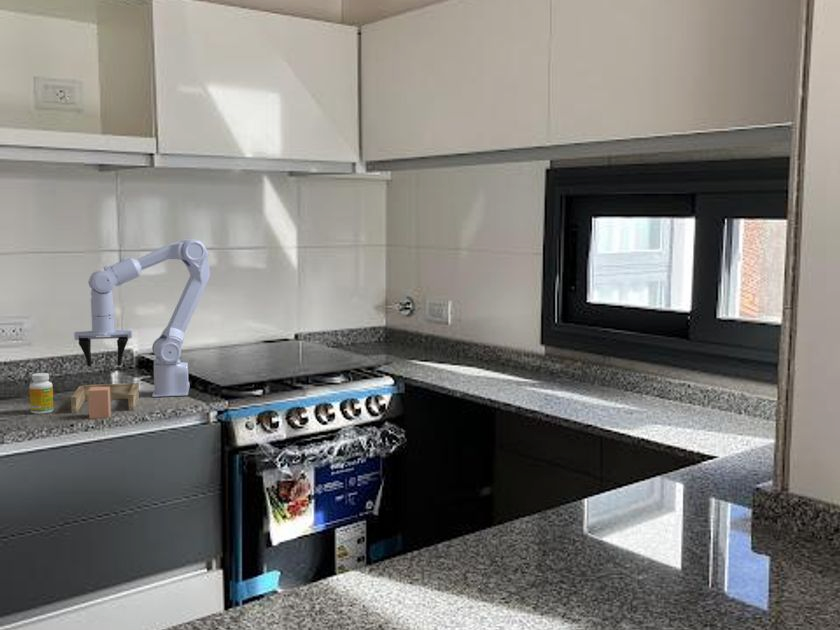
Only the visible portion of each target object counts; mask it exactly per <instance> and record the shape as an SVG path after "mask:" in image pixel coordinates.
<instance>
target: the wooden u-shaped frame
mask: <svg viewBox="0 0 840 630" xmlns="http://www.w3.org/2000/svg"><path fill="white" fill-rule="evenodd" d="M91 387H110V401H111V400H128V401H127V402H128V411H135V409H136V405H137V403H138V402H139V401H138V400H139V398H140V392H139V391H140V389H139V387H140V384H139V383H138V382H133V383H131V382H129V383H101V384H81V385H79V386H78V387H77V389H76V390H75V391H74V392H73V394H72V395H71V396H70V405H71V410H70V411H71V413H72V414H75V413H76V414H77V413H78V411H79V410H80V408H81V407H82V406H83V404H85V402H86V401H89V393H88V391H89V389H90V388H91ZM85 400H86V401H85ZM84 401H85V402H84Z"/></svg>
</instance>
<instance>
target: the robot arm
mask: <svg viewBox="0 0 840 630" xmlns="http://www.w3.org/2000/svg"><path fill="white" fill-rule="evenodd" d="M209 255H210V254H209V252H208V250H207V247H206V245H205V244H204V243H203V242H202V241H200V240H198V239H191V238H184V239H182V240H180V241H174V242H172V243H168V244H166V245H164V246H162V247H160V248H158V249H156V250H154V251H151V252H150V253H148V254H146V255H143V256H141V257H140V258H137V259H134V258H132V257H127V258H126V257H122V258H120V261H118V262H116V263H114V264H111V265H109V266H108V265H105V266H103V269H104V270H102V269H101V270H96V271H94V272H92V273H91V275H90V276H89V278H88V282H87V283H88V286H89V288H90V289H91V290H90V296H91V298H90V310H91V330H87V331H85V330H84V331H75V332H73V333H74V334H73V335H74V341H78V345H79V347H80V348H81V350H82V352H83V355H84V356H85V360H86V365H87V367H91V366H92V354H91V352H92V351H91V347H92V346H91V344H92V343H91V342H92V340H108V339H109V340H110V339H111V340H112V339H117V340H116V344H117V366H122V363H123V362H122V361H123V355H124V352H125V349H126V347H127V344H128V341H129V339H132V338H133V331H132V330H121V329H120V330H119V329H117V330H116V329H115V308H114V307H115V306H114V302H115V301H114V295H113V289H114V288H115V286H116V287H120V286H122V285H124V284H126V283H128V282H130V281H132V280H135V279H137V278H140V276H141V273H142V271H143V270H145V269H148V268H150V267H154V266H155V265H158V264H160V263H162V262H166V261H167V260H180V261H182V262H183V263H184V264H185V266H186V269H187V271H188V274H189V277H188V280H187V283H185V284H186V285H185V287H184V289H183V290H182V293H181V295H180V298H179V299H178V302H177V304H176V305H175V308H174V310H173V312H172V315H171V317H170V319H169V321H168V323H167V326H166V327H165V328H164V329H163V330H162V332H161V334H160V336H159V337H158V338H156V340H154V341H153V344H152V346H151V350H152V353H153V355H154V356H155V359H154V360H153V382H154V383H153V384H154V385H153V387H154V390H153V392H152V394H151V396H152V398H155V397H156V398H159V397H180V396H182V397H183V396H184V397H186V396H189V391H190V381H189V364H188V363H189V362H183V361H181V359H180V358H181V356H182V347H183V346H182V345H183V343H184V338H185V333H186V331H187V329H188V327H189V326H188V325H189V324H190V321H191V319H192V317H193V315H194V313H195V311H196V308H197V306H198V304H199V301H200V299H201V298H202V294H203V293H204V291H205V288H206V286H207V284H208V282H209V280H210V277H211V269H210V261H209Z"/></svg>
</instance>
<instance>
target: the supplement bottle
mask: <svg viewBox="0 0 840 630" xmlns="http://www.w3.org/2000/svg"><path fill="white" fill-rule="evenodd" d="M49 380H50V374H49V373H48V372H38V373H37V372H36V373H32V374H31V381H32V382H31V383H30V384H29V389H28V390H29V406H30V408H29V409H30V413H31V414H33V413H34V414H36V415H41V414H49V413H52V412H54V387H53V383H52V382H51V381H49Z"/></svg>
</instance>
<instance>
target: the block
mask: <svg viewBox="0 0 840 630" xmlns="http://www.w3.org/2000/svg"><path fill="white" fill-rule="evenodd" d="M88 393H89V400H88V415H89V416H88V417H89V419H109V418H110V416H111V414H112V411H111V410H112V407H111V404H112V403H111V402H112V401H111V400H110V387H91V388H90V389H89V391H88Z"/></svg>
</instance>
